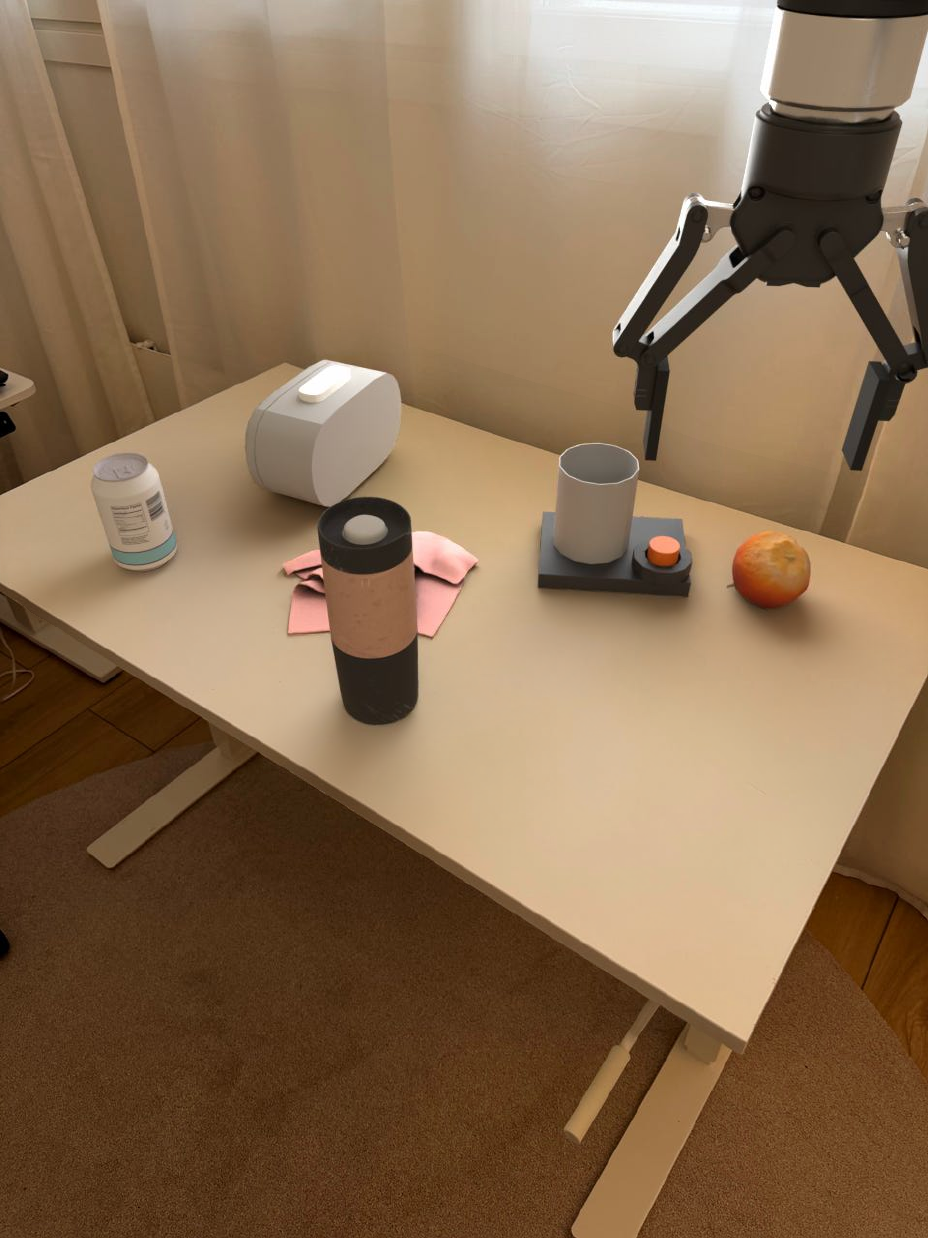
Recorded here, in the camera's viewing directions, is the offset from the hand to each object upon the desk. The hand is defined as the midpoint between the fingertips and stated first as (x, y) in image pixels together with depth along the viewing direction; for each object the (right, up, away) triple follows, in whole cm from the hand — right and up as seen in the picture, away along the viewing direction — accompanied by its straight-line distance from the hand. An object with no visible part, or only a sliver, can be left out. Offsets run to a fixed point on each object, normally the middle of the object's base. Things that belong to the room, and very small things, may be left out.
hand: (749, 455), depth 61 cm
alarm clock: (-36, +7, +52) cm, 64 cm away
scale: (-3, -4, +39) cm, 39 cm away
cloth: (-30, -7, +36) cm, 47 cm away
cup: (-6, -3, +38) cm, 39 cm away
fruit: (+12, -9, +34) cm, 37 cm away
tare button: (+1, -5, +34) cm, 34 cm away
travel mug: (-28, -19, +23) cm, 40 cm away
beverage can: (-55, -4, +39) cm, 68 cm away
